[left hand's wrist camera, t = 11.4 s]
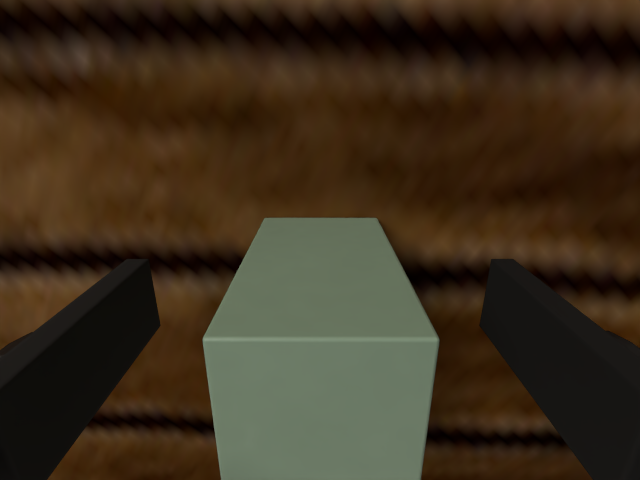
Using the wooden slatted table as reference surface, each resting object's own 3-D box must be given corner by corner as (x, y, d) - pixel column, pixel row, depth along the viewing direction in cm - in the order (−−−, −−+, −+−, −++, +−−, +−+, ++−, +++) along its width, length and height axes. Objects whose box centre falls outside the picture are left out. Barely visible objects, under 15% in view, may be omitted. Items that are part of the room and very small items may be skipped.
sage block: (377, 217, 14) (441, 338, 7) (371, 315, 16) (418, 504, 8) (264, 217, 14) (200, 338, 7) (269, 315, 16) (222, 504, 8)
